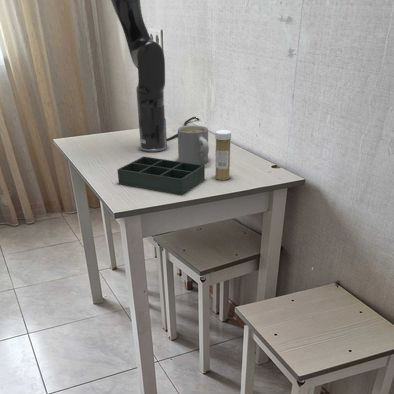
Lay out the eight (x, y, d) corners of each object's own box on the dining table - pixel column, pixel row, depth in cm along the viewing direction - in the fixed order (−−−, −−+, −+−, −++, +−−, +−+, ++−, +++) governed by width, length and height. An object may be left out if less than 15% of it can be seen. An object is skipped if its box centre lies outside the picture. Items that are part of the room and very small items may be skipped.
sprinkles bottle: (231, 176, 148) (233, 130, 140) (226, 181, 145) (227, 133, 136) (218, 174, 150) (219, 128, 141) (212, 179, 146) (213, 132, 138)
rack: (144, 170, 154) (143, 156, 151) (204, 179, 146) (204, 165, 143) (118, 184, 144) (117, 169, 141) (182, 195, 136) (181, 179, 133)
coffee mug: (174, 158, 164) (173, 126, 158) (201, 155, 167) (201, 124, 160) (187, 169, 154) (187, 136, 148) (216, 166, 157) (216, 133, 151)
